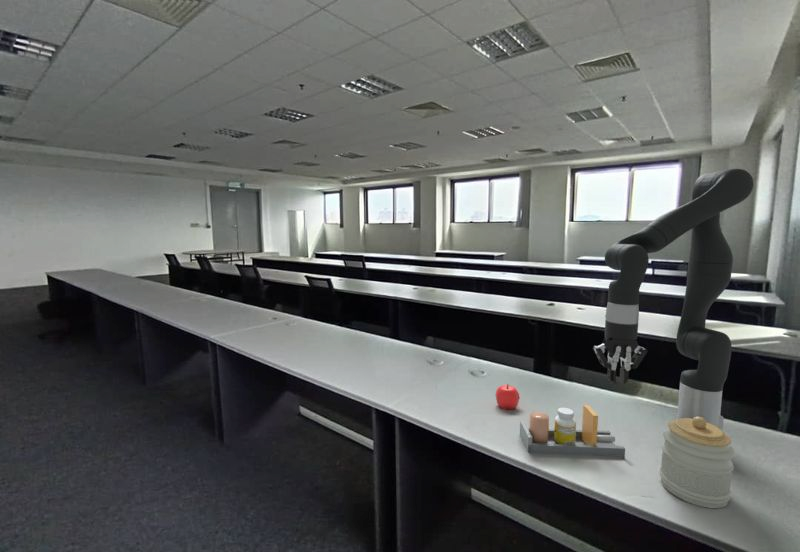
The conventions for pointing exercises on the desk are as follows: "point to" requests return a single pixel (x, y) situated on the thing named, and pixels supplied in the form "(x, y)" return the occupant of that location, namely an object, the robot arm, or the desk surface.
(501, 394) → the apple
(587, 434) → the pusher plate
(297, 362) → the desk surface
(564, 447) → the tray
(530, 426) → the terracotta jar
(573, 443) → the supplement bottle
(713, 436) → the jar
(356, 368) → the desk surface
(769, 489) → the desk surface
